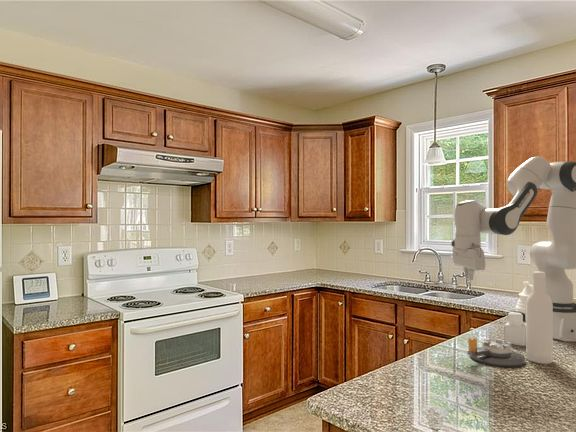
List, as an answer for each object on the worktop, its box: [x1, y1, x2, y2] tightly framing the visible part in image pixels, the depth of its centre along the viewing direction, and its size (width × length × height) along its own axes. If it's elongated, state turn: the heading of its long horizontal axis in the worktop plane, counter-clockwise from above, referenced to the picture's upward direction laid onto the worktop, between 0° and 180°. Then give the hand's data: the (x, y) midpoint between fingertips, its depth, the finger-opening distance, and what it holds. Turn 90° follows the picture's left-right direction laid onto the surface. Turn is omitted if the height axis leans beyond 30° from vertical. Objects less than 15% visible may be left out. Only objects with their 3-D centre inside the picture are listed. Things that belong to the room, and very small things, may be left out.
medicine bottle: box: [503, 310, 526, 347], centre depth 168 cm, size 7×7×12 cm
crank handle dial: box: [466, 337, 512, 358], centre depth 146 cm, size 17×9×6 cm, turn 114°
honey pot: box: [515, 280, 533, 322], centre depth 209 cm, size 13×13×18 cm
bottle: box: [525, 271, 554, 365], centre depth 147 cm, size 8×8×30 cm
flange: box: [469, 346, 526, 368], centre depth 148 cm, size 17×17×2 cm
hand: (469, 279), depth 163 cm, fingers closed
